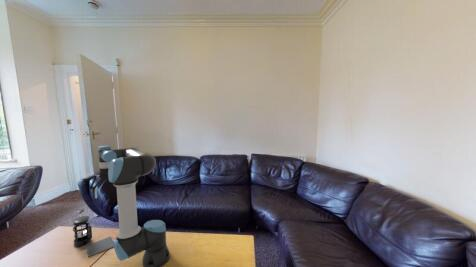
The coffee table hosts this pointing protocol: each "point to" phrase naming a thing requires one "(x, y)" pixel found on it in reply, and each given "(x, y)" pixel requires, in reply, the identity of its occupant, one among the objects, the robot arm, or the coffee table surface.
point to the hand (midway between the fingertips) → (107, 195)
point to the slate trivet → (99, 246)
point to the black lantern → (83, 234)
